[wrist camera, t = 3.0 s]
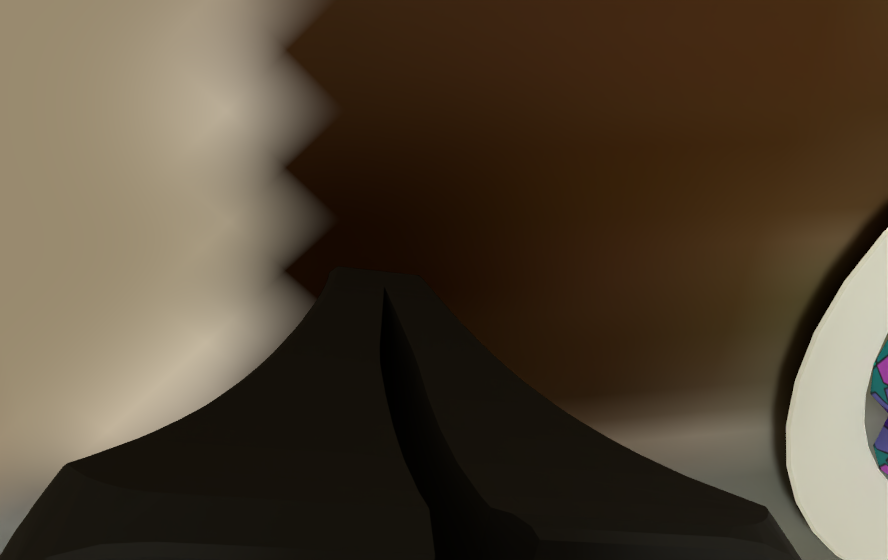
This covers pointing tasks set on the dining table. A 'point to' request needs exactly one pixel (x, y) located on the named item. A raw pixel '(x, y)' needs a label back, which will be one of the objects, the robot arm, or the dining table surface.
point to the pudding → (844, 417)
